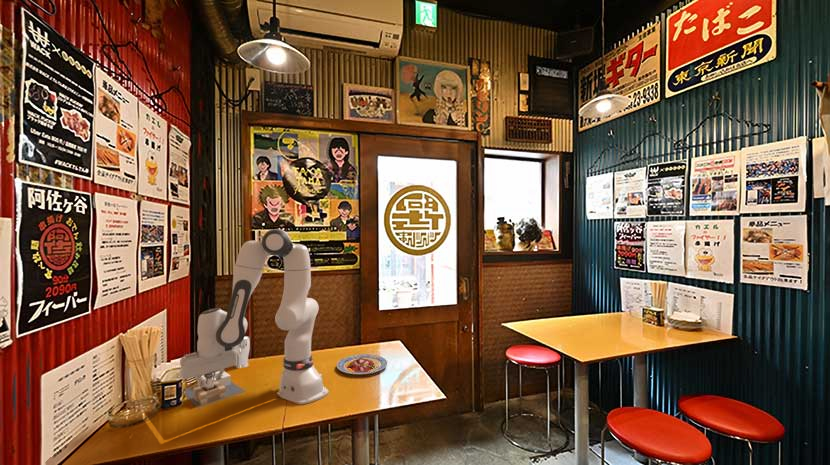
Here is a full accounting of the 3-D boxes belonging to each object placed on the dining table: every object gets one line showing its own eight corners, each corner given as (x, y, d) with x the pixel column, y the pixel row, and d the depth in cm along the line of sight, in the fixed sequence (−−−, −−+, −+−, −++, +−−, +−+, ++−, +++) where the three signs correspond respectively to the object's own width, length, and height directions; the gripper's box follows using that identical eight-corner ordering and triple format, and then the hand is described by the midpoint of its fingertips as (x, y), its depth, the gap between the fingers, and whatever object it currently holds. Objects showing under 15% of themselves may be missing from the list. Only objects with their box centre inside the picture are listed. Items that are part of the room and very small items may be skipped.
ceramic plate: (325, 369, 171) (325, 363, 171) (361, 354, 192) (361, 349, 192) (363, 383, 156) (363, 376, 156) (397, 365, 177) (397, 359, 177)
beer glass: (243, 370, 167) (243, 340, 167) (231, 369, 169) (231, 339, 169) (252, 365, 174) (252, 336, 174) (240, 364, 175) (241, 335, 175)
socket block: (230, 384, 150) (230, 375, 150) (208, 391, 143) (208, 382, 143) (222, 378, 156) (222, 370, 156) (200, 385, 149) (200, 376, 149)
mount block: (225, 397, 139) (225, 387, 139) (201, 405, 132) (201, 395, 132) (217, 390, 145) (217, 380, 145) (193, 397, 138) (193, 388, 138)
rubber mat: (245, 393, 144) (245, 391, 144) (197, 410, 130) (197, 407, 130) (224, 378, 158) (224, 376, 158) (179, 392, 144) (179, 390, 144)
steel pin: (216, 397, 139) (217, 372, 139) (205, 400, 135) (206, 376, 135) (213, 394, 141) (213, 370, 141) (202, 397, 138) (202, 373, 138)
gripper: (182, 357, 128) (182, 394, 128) (238, 344, 144) (238, 376, 144) (177, 353, 132) (177, 389, 132) (232, 341, 148) (232, 372, 148)
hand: (209, 382), depth 138 cm, fingers open, 5 cm apart
